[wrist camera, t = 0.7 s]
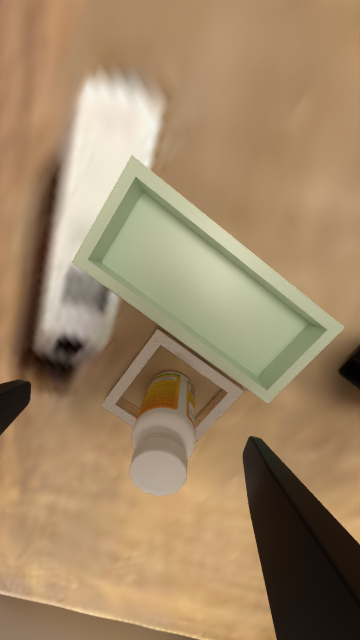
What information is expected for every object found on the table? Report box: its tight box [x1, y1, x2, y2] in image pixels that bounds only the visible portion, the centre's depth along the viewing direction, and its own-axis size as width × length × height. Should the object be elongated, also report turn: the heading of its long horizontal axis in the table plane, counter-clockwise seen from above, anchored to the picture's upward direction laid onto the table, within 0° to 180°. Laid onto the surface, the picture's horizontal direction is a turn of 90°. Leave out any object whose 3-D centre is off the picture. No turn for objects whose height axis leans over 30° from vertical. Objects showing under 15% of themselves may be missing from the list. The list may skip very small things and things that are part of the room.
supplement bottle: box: [130, 371, 196, 496], centre depth 17 cm, size 5×5×10 cm
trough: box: [72, 156, 345, 403], centre depth 18 cm, size 22×10×4 cm, turn 53°
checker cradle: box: [101, 326, 244, 442], centre depth 21 cm, size 11×11×2 cm
